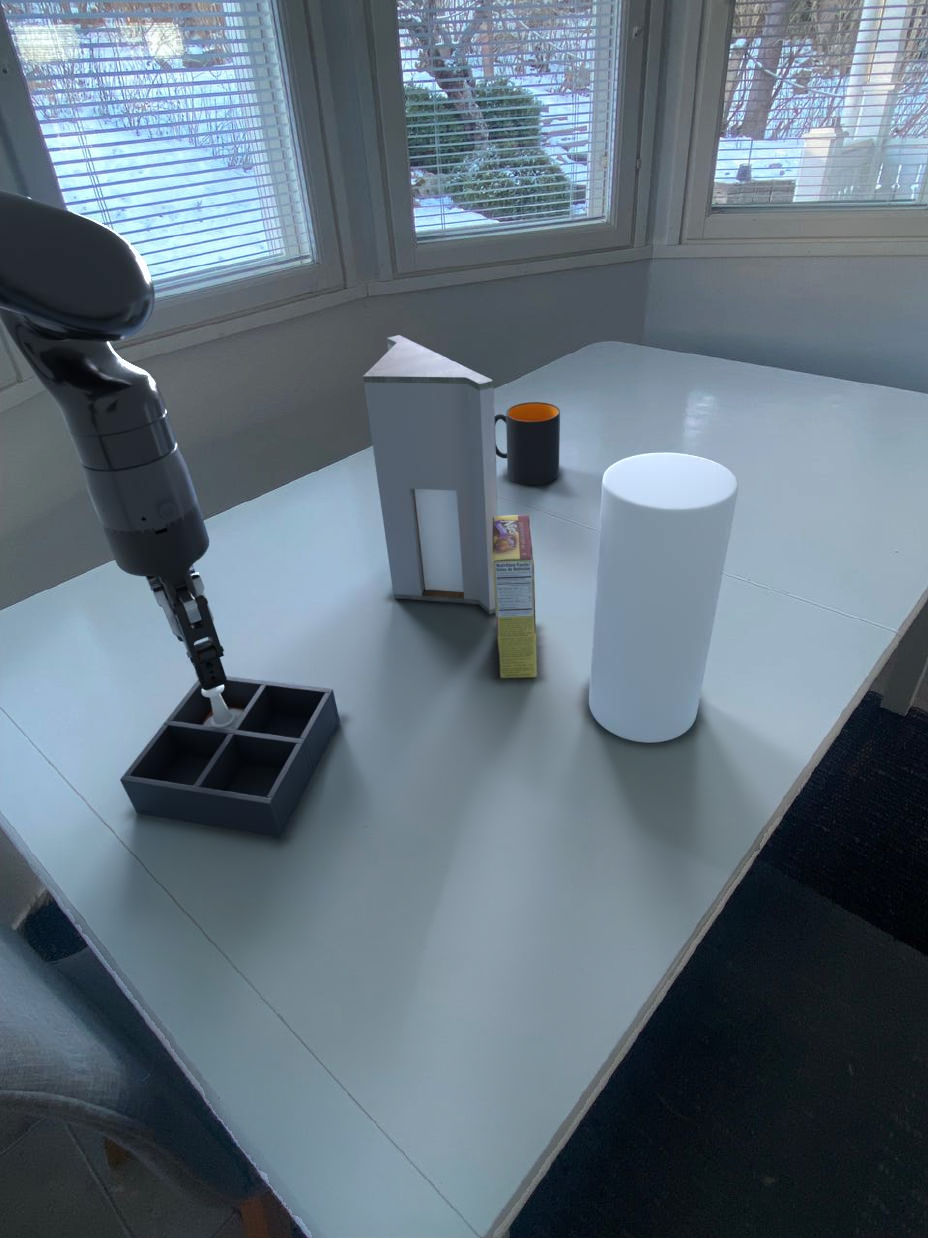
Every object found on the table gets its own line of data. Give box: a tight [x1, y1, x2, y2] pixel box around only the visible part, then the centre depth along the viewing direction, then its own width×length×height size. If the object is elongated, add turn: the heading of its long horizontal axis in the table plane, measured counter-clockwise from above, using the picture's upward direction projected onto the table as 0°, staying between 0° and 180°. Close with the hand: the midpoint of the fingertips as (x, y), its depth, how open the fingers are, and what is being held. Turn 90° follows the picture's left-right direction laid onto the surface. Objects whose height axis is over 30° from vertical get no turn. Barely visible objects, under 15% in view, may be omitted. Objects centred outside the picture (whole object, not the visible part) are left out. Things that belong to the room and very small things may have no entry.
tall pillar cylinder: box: [588, 452, 739, 744], centre depth 67 cm, size 11×11×25 cm
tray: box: [119, 675, 341, 839], centre depth 69 cm, size 14×14×5 cm
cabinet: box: [362, 334, 499, 615], centre depth 86 cm, size 21×10×28 cm, turn 31°
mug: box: [495, 401, 561, 486], centre depth 116 cm, size 8×12×10 cm
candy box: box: [492, 514, 538, 679], centre depth 77 cm, size 9×4×15 cm, turn 178°
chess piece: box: [194, 671, 243, 729], centre depth 70 cm, size 5×5×10 cm
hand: (201, 660), depth 68 cm, fingers open, 8 cm apart
